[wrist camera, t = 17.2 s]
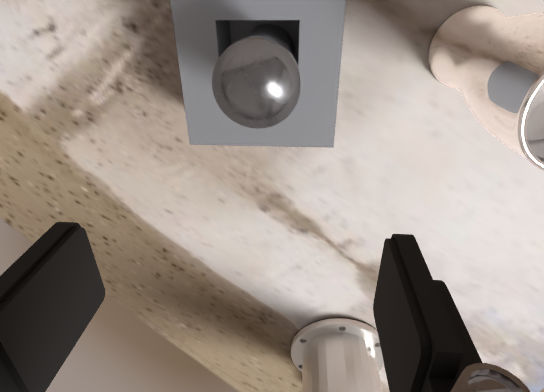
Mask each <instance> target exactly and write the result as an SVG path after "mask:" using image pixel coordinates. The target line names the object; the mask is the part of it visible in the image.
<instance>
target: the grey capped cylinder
mask: <svg viewBox="0 0 544 392" xmlns="http://www.w3.org/2000/svg"><path fill="white" fill-rule="evenodd" d="M294 53H295V48H294V43H293V40H292V38H291V36H290V35H289V33H288V32H287V31H286V30H285V29H284V28H282V27H280V26H278V25H275V24H263V25H260V26H258V27H256V28H255V29H253V30H252V31H251V33H250V34H249V35H248V36H247V37H244V38H242V39H239V40H237V41H235V42H234V43H232V44H231V45H230V46H229V47H228V48H227V49H226V50H225V51H224V52H223V53H222V54H221V56H220V57H219V58H218V60H217V62H216V64H215V67H214V70H213V74H212V89H213V94H214V97H215V100H216V102H217V104H218V106H219V107H220V109H221V110H222V111H223V113H224V114H225V115H226V116H227V117H229V118H230V119H231V120H232V121H234V122H236V123H237V124H240V125H242V126H245V127H248V128H256V129H260V128H268V127H271V126H274V125H276V124H278V123H280V122H282V121H283V120H284V119H286V118H287V117H288V116H289V115H290V114H291V112H292V111H293V110H294V108H295V106H296V104H297V102H298V99H299V95H300V88H301V78H300V71H299V67H298V64H297V62H296V60H295V58H294Z"/></svg>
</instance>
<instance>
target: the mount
mask: <svg viewBox="0 0 544 392" xmlns="http://www.w3.org/2000/svg"><path fill="white" fill-rule="evenodd" d="M170 4H171V11H172V19H173V26H174V33H175V40H176V48H177V55H178V62H179V69H180V76H181V84H182V91H183V98H184V105H185V113H186V120H187V127H188V134H189V141H190V145H237V146H285V147H333V146H334V135H335V123H336V111H337V99H338V88H339V76H340V64H341V53H342V41H343V29H344V18H345V6H346V0H170ZM263 24H275V25H278V26H280V27H282V28H284V29H285V30H286V31H287V32H288V33H289V35H290V36H291V38H292V40H293V43H294V48H295V53H294V58H295V60H296V62H297V64H298V67H299V71H300V78H301V88H300V95H299V99H298V102H297V104H296V106H295V108H294V110H293V111H292V112H291V114H290V115H289V116H288V117H287V118H286V119H284V120H283V121H282V122H280V123H278V124H276V125H274V126H271V127H268V128H260V129H256V128H248V127H245V126H242V125H240V124H237V123H236V122H234V121H232V120H231V119H230V118H229V117H227V116H226V115H225V114H224V113H223V111H222V110H221V109H220V107H219V106H218V104H217V102H216V100H215V97H214V94H213V89H212V74H213V70H214V67H215V64H216V62H217V60H218V58H219V57H220V56H221V54H222V53H223V52H224V51H225V50H226V49H227V48H228V47H229V46H230V45H231V44H232V43H234V42H235V41H237V40H239V39H242V38H244V37H247V36H248V35H249V34H250V33H251V31H252V30H253V29H255V28H256V27H258V26H260V25H263Z"/></svg>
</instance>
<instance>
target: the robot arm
mask: <svg viewBox="0 0 544 392" xmlns="http://www.w3.org/2000/svg"><path fill="white" fill-rule="evenodd" d="M104 297H105V288H104V285H103V282H102V279H101V276H100V273H99V270H98V267H97V264H96V261H95V258H94V255H93V252H92V249H91V246H90V243H89V240H88V237H87V233H86V231H85V229H84V228H82V227H81V226H80V225H79V224H78V223H74V222H57V223H55V224H54V225H53V226H52V227H51V228H50V229H49V230H48V231H47V232H46V233H45V234H44V235H43V236H42V237H40V238H39V239H38V240H37V241H36V242H35V243H34V244H33V245H32V246H31V247H30V248H29V249H28V250H27V251H26V252H25V253H24V254H23V255H22V256H21V257H20V258H19V259H18V260H17V261H15V262H14V263H13V264H12V265H11V266H10V267H9V268H8V269H7V270H6V271H5V272H4V273H3V274H2V275H1V276H0V392H45V391H46V390H47V388H48V387H49V385H50V383H51V382H52V380H53V379H54V377H55V376H56V374H57V372H58V371H59V369H60V368H61V366H62V365H63V363H64V361H65V360H66V358H67V357H68V355H69V354H70V352H71V350H72V349H73V347H74V346H75V344H76V342H77V341H78V339H79V338H80V336H81V335H82V333H83V332H84V330H85V328H86V327H87V325H88V323H89V322H90V321H91V319H92V317H93V316H94V314H95V313H96V311H97V310H98V308H99V306H100V305H101V303H102V302H103V300H104ZM373 311H374V318H375V323H376V327H377V330H375V329H374V328H373V327H371V326H369V325H367V324H365V323H362V322H359V321H356V320H351V319H342V318H335V319H326V320H321V321H317V322H314V323H312V324H310V325H308V326H306V327H304V328H303V329H302V330H300V331H299V332H298V333H297V334H296V335H295V337H294V339H293V341H292V344H291V358H292V361H293V363H294V365H295V366H296V367H297V368H298V369H299V370H300V371H301V372H302V392H382V386H381V381H380V376H379V370H380V369H381V368H382V367H383V365H384V366H385V371H386V375H387V380H388V385H389V390H390V392H530V390H529V389H528V387H527V386H526V385H525V384H524V383H523V382H522V381H521V380H520V379H519V378H517V377H516V376H514V375H513V374H512V373H510V372H509V371H507V370H505V369H503V368H501V367H498V366H496V365H492V364H488V363H482V361H481V359H480V357H479V354H478V352H477V350H476V348H475V346H474V344H473V342H472V340H471V337H470V335H469V333H468V331H467V329H466V327H465V325H464V322H463V320H462V318H461V316H460V314H459V312H458V310H457V307H456V305H455V303H454V301H453V299H452V297H451V295H450V292H449V290H448V288H447V286H446V285H445V283H444V282H443V281H441V280H433V279H432V276H431V274H430V272H429V269H428V267H427V265H426V262H425V260H424V258H423V256H422V253H421V251H420V249H419V246H418V244H417V242H416V239H415V237H414V235H408V234H393V235H392V237H391V239H385V242H384V248H383V253H382V259H381V264H380V270H379V276H378V281H377V287H376V292H375V298H374V304H373Z"/></svg>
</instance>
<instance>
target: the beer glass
mask: <svg viewBox="0 0 544 392" xmlns="http://www.w3.org/2000/svg"><path fill="white" fill-rule="evenodd" d="M429 65H430V68H431V71H432V73H433V75H434V76H435V77H436V79H437V80H438V81H440V82H441V83H442V84H444V85H446V86H448V87H451V88H454V89H459V91H460V93H461V95H462V97H463V99H464V101H465V103H466V104H467V106H468V108H469V110H470V111H471V112H472V114H473V115H474V117H475V118H476V120H477V121H478V122H479V123H480V124H481V125H482V126H483V127H484V128H485V129H486V130H487V131H488V132H489V133H490V134H491V135H492V136H494V137H495V138H496V139H498V140H499V141H500V142H501V143H503V144H504V145H505V146H507V147H509V148H510V149H512V150H513V151H515V152H516V153H518V154H519V155H521V156H523V157H524V158H526V159H527V160H529V161H530V162H531V163H532V164H533V165H535V166H536V167H538V168H540V169H542V170H544V12H537V13H529V14H523V15H516V16H510V17H508V16H506V15H505V14H504V13H503V12H501V11H500V10H498V9H496V8H493V7H490V6H483V5H478V6H472V7H468V8H465V9H462V10H460V11H458V12H457V13H455V14H453V15H452V16H451V17H449V18H448V19H447V20H446V21H445V22H444V23H443V24H442V25H441V26H440V28H439V29H438V30H437V32H436V33H435V35H434V37H433V39H432V42H431V45H430V49H429Z"/></svg>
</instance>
